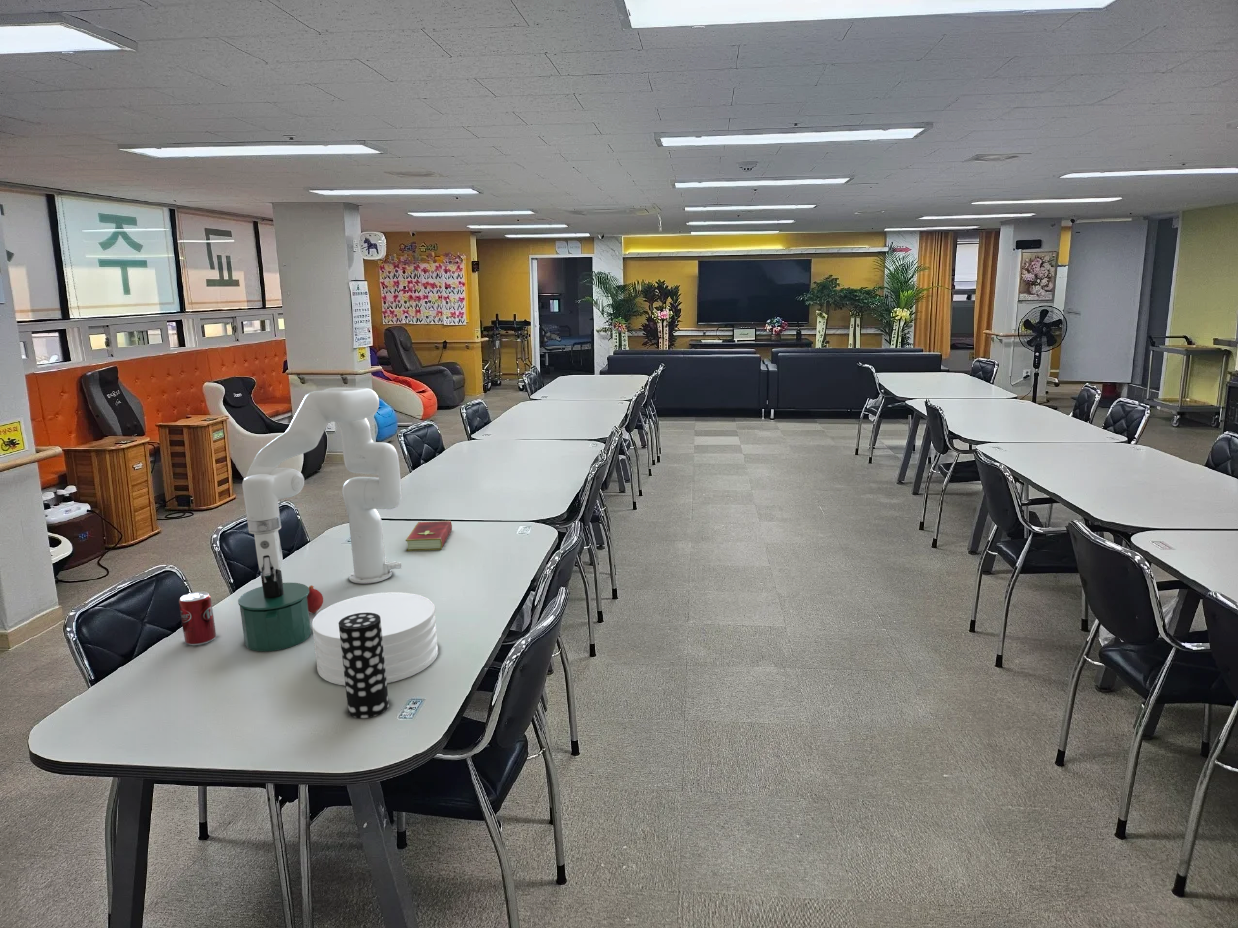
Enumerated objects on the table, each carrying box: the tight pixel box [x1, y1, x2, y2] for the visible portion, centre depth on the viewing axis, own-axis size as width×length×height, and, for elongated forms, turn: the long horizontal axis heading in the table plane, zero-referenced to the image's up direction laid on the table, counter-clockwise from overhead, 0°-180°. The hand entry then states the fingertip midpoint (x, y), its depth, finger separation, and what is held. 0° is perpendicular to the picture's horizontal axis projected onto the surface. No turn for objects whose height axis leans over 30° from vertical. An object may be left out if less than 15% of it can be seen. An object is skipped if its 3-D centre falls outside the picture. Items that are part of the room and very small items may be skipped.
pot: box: [239, 597, 312, 652], centre depth 210 cm, size 16×21×10 cm
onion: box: [307, 585, 324, 614], centre depth 226 cm, size 6×6×8 cm
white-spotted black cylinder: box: [339, 613, 390, 719], centre depth 173 cm, size 8×8×20 cm
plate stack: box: [311, 591, 439, 687], centre depth 197 cm, size 28×28×12 cm
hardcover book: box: [405, 520, 453, 552], centre depth 287 cm, size 12×21×4 cm, turn 2°
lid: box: [237, 569, 309, 610], centre depth 208 cm, size 17×17×7 cm
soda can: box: [178, 591, 217, 646], centre depth 210 cm, size 7×7×12 cm
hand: (273, 591), depth 209 cm, fingers closed on lid, 4 cm apart
